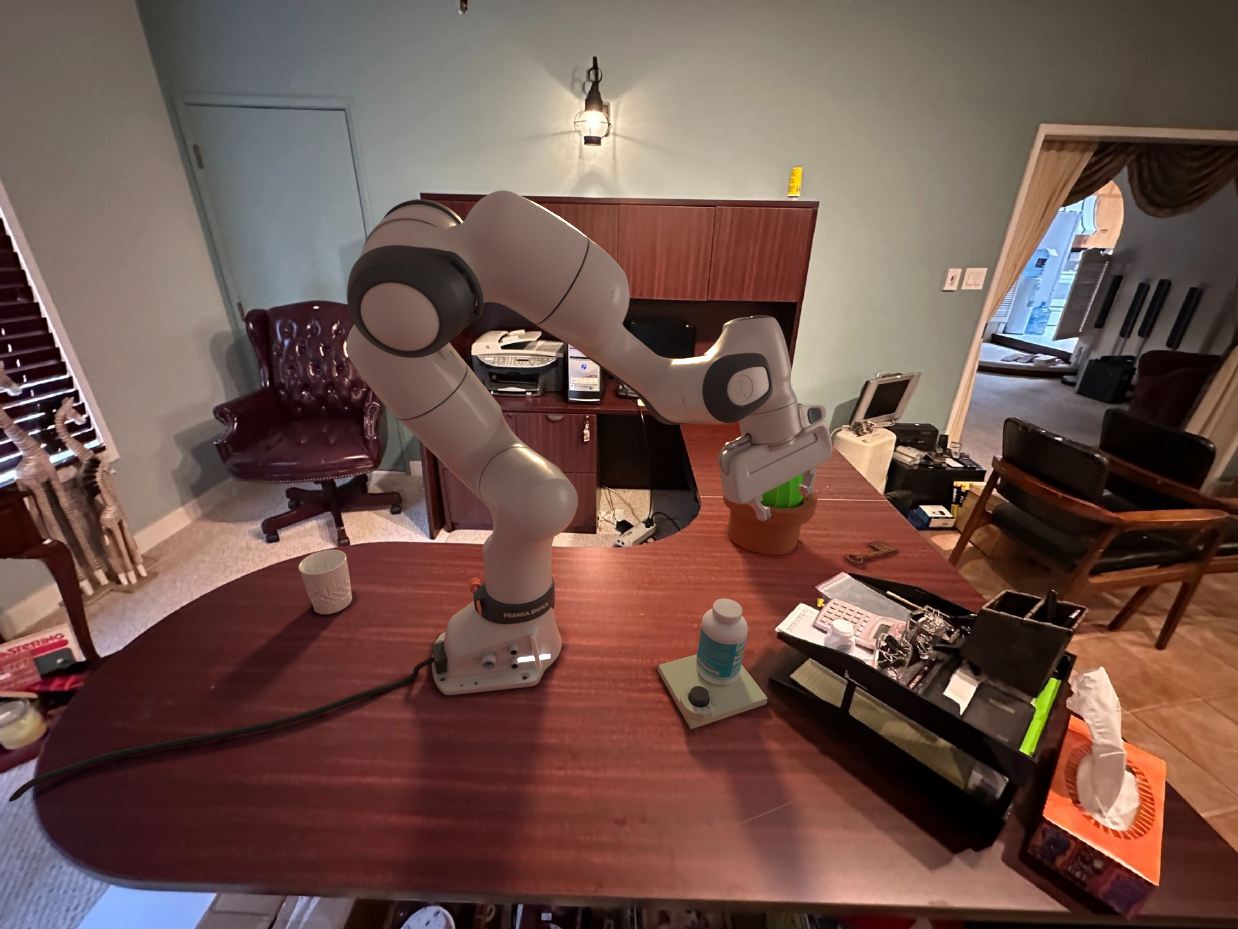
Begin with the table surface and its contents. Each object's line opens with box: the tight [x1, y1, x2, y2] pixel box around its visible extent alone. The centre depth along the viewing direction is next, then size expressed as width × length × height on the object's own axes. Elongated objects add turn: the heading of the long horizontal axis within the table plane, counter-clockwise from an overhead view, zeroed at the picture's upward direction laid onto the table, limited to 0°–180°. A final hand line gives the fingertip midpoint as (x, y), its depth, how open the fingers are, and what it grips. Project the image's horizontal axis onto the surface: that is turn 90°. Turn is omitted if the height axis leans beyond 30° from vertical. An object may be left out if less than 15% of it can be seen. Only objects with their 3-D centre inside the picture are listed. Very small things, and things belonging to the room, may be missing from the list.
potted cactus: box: [722, 474, 819, 556], centre depth 121 cm, size 22×22×25 cm
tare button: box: [690, 686, 709, 708], centre depth 77 cm, size 3×3×2 cm
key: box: [846, 541, 897, 565], centre depth 121 cm, size 6×1×15 cm
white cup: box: [298, 549, 353, 615], centre depth 96 cm, size 8×8×10 cm
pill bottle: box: [696, 598, 749, 685], centre depth 82 cm, size 8×7×14 cm
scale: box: [657, 653, 768, 730], centre depth 82 cm, size 14×12×3 cm
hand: (786, 506), depth 78 cm, fingers open, 8 cm apart
